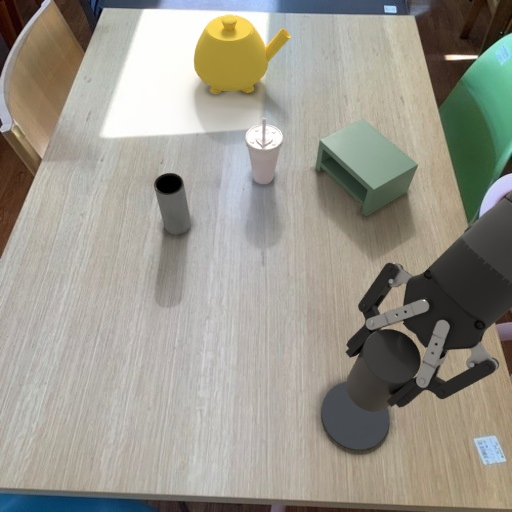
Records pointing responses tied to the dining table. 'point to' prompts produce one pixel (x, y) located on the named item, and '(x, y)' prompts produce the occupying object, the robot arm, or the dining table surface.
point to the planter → (172, 203)
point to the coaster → (352, 420)
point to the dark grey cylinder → (382, 369)
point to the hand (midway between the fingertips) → (370, 377)
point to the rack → (366, 165)
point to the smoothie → (263, 150)
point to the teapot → (234, 54)
